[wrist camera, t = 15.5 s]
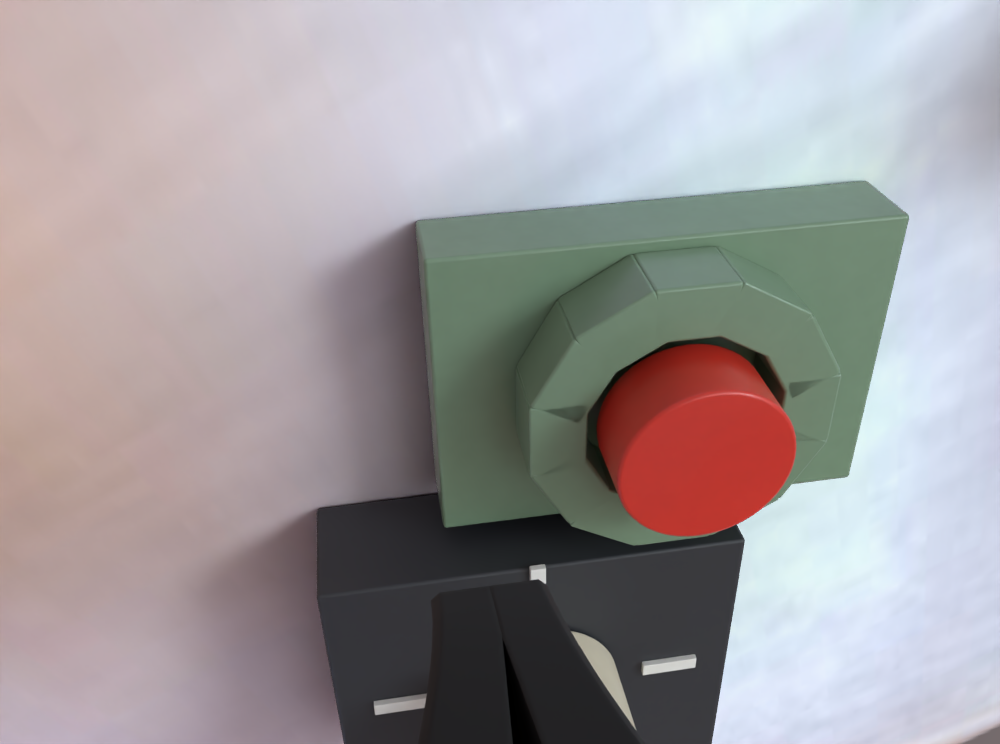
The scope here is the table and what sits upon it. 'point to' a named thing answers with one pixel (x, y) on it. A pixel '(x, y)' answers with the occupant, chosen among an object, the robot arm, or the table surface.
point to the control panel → (507, 559)
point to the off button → (694, 440)
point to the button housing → (642, 333)
